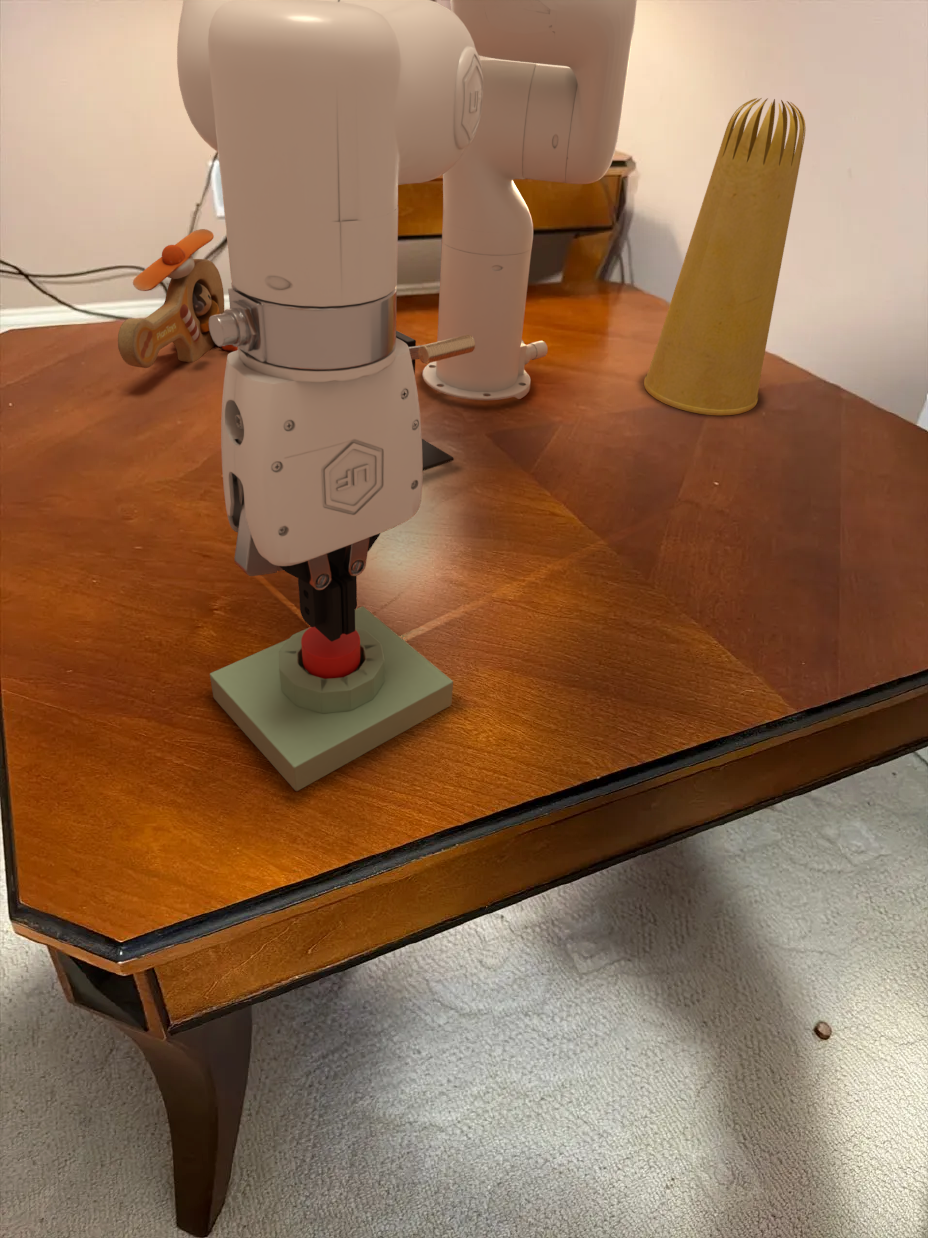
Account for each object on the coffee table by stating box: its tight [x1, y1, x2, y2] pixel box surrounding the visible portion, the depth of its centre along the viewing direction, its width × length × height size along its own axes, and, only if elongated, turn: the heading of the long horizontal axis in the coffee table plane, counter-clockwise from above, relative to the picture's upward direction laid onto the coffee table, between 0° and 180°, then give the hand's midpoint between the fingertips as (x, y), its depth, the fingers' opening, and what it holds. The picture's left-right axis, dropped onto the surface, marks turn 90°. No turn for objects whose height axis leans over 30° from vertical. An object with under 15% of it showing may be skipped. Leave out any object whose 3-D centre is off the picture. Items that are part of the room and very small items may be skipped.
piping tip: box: [643, 97, 807, 416], centre depth 92 cm, size 14×14×30 cm
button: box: [301, 626, 360, 679], centre depth 52 cm, size 4×4×2 cm
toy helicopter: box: [117, 228, 238, 369], centre depth 92 cm, size 8×21×14 cm, turn 168°
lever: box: [409, 335, 475, 365], centre depth 73 cm, size 12×5×2 cm, turn 41°
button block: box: [209, 605, 454, 792], centre depth 54 cm, size 12×10×4 cm
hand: (329, 624), depth 51 cm, fingers closed
